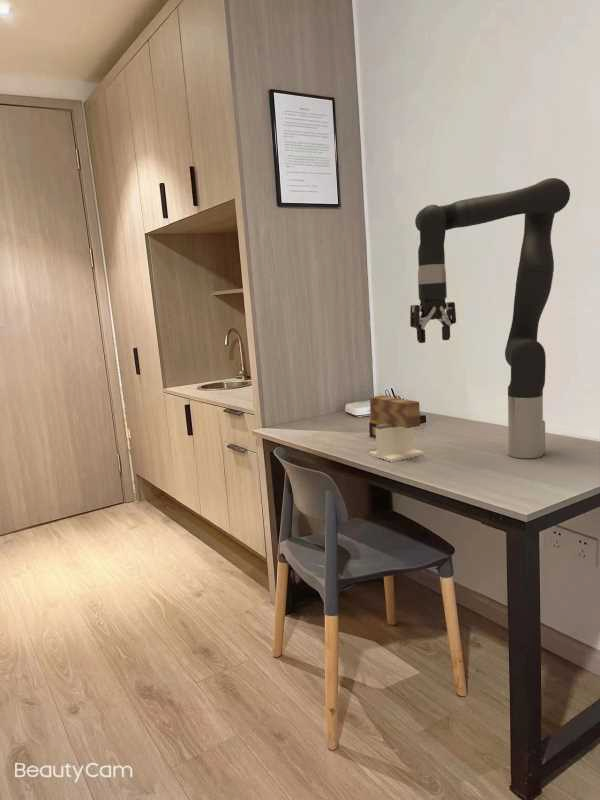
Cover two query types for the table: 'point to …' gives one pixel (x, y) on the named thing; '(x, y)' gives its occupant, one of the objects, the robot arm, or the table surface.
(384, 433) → the ridge stand
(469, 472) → the table surface
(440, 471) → the table surface
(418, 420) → the walnut beam
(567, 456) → the table surface
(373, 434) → the ammunition clip
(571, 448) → the table surface
